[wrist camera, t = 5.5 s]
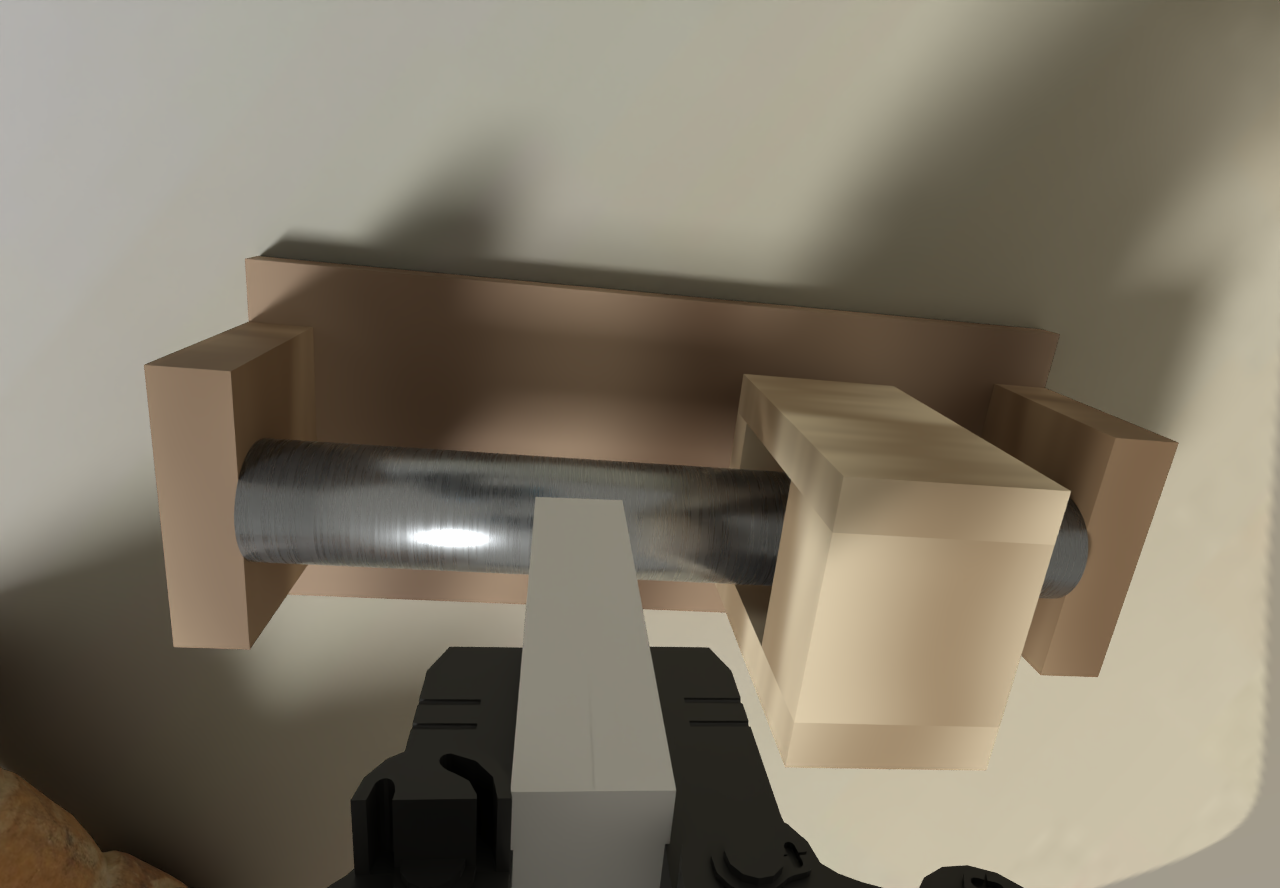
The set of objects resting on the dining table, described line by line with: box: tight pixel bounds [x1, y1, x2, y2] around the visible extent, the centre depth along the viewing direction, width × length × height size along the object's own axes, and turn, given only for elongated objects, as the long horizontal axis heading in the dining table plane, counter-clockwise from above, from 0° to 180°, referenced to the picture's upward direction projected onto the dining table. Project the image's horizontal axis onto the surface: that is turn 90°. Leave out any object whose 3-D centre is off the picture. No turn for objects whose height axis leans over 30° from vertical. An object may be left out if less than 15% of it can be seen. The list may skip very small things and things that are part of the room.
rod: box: [234, 438, 1088, 599], centre depth 17 cm, size 18×3×3 cm, turn 84°
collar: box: [715, 374, 1071, 770], centre depth 17 cm, size 4×6×7 cm
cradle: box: [144, 256, 1178, 677], centre depth 19 cm, size 21×9×6 cm, turn 84°
